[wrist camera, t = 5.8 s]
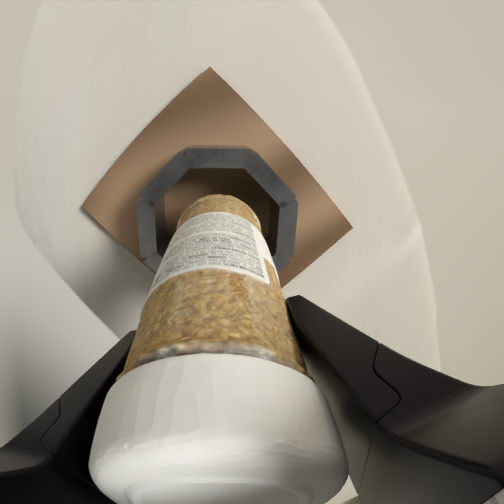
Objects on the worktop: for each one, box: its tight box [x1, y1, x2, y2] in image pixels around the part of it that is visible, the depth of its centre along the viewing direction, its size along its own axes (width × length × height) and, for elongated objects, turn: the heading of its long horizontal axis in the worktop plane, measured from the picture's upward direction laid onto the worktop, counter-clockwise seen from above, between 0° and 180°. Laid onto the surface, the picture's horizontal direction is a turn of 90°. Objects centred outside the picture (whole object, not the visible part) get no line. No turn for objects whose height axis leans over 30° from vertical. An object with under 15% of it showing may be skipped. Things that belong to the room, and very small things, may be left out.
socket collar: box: [136, 145, 299, 273], centre depth 17 cm, size 9×9×3 cm
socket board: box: [82, 67, 353, 288], centre depth 19 cm, size 14×12×1 cm
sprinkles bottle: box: [89, 194, 349, 504], centre depth 10 cm, size 5×5×13 cm
